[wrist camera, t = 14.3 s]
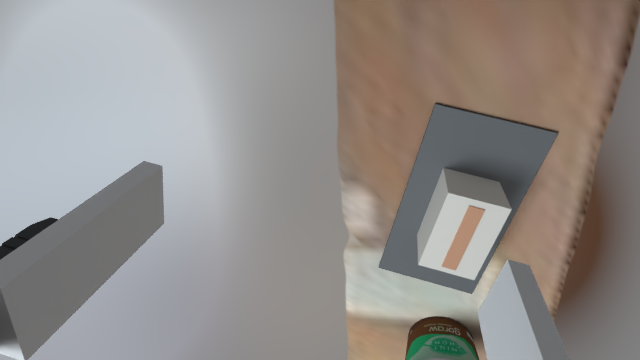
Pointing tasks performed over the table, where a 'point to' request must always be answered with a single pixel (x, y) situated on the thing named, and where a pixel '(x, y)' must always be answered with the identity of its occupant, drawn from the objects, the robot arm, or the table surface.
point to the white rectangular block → (461, 223)
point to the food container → (440, 340)
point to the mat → (471, 158)
